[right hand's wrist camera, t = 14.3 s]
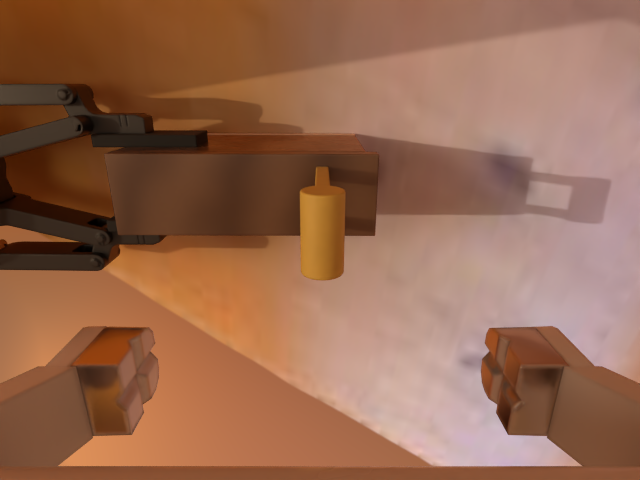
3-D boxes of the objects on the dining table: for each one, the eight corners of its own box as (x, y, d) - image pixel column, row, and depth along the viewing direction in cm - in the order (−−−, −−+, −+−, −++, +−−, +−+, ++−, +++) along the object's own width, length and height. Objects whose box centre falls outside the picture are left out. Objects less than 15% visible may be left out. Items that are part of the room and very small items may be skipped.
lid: (377, 151, 25) (403, 182, 17) (373, 230, 26) (395, 292, 18) (111, 150, 25) (13, 181, 17) (124, 230, 26) (41, 291, 18)
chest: (354, 133, 34) (366, 151, 25) (352, 193, 36) (363, 230, 26) (168, 133, 34) (111, 150, 25) (175, 192, 36) (124, 230, 26)
